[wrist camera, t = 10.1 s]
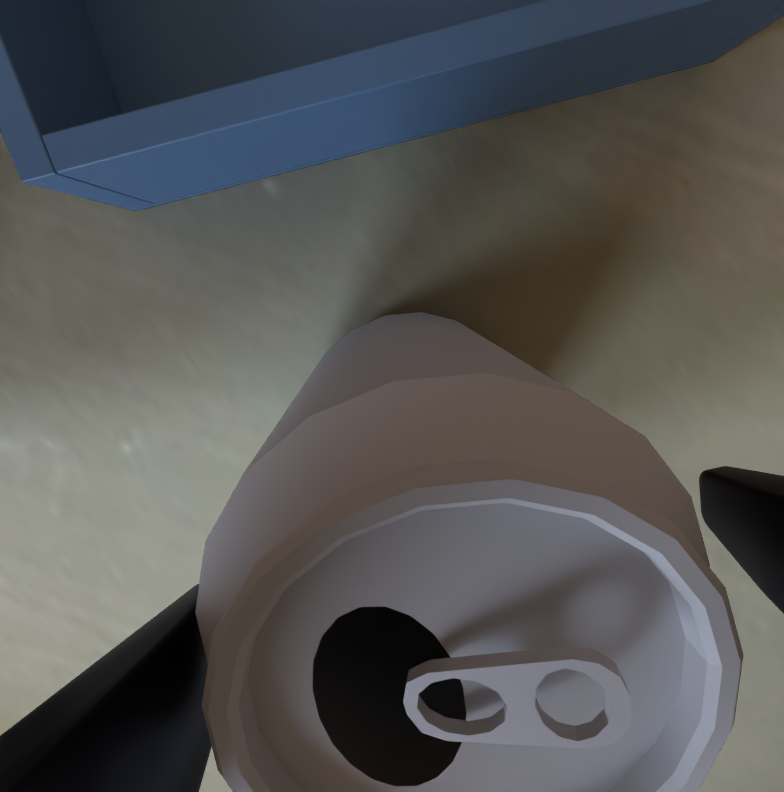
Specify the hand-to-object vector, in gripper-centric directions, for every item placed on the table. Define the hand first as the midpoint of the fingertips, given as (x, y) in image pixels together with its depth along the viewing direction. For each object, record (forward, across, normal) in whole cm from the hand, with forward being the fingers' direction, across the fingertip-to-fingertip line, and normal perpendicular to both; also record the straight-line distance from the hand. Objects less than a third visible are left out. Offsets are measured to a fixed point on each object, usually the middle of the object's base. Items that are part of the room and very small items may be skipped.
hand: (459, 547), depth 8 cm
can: (+9, 0, 0) cm, 9 cm away
